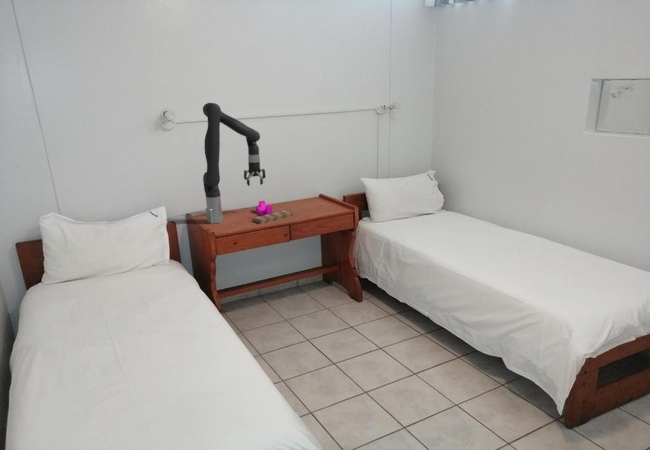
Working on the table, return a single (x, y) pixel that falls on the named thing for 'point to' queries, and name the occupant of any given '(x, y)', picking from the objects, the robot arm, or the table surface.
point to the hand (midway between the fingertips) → (255, 185)
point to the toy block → (263, 208)
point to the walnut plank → (272, 217)
